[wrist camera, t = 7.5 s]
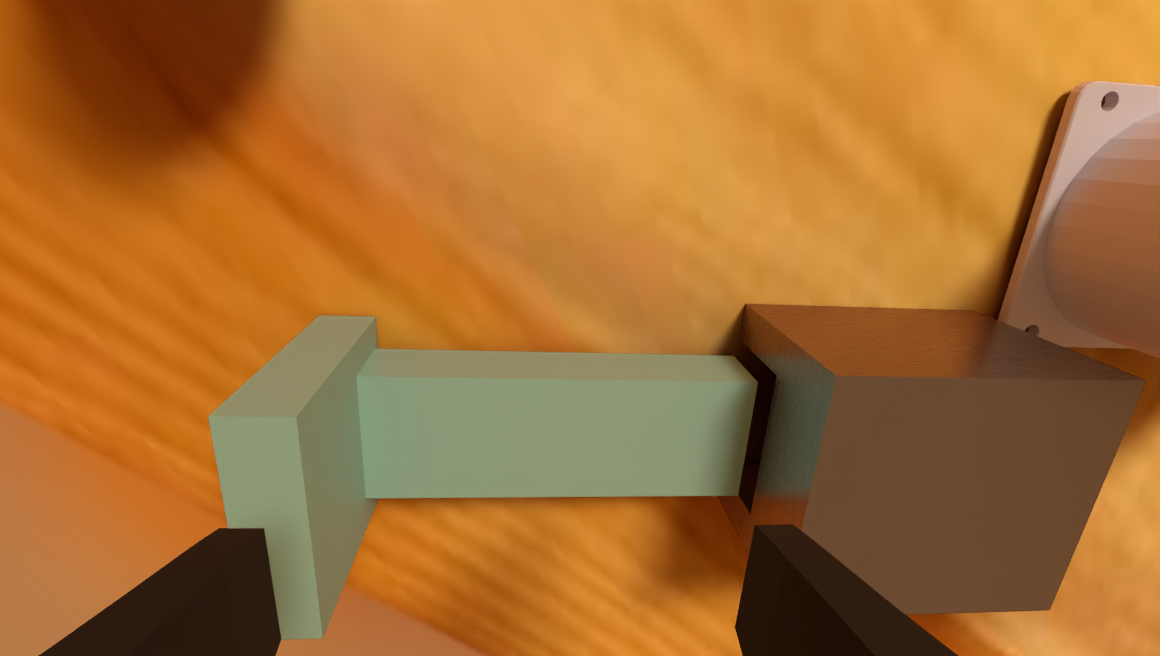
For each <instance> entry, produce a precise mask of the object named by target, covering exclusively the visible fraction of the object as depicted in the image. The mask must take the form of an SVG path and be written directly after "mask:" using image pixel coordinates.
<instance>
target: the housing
mask: <svg viewBox="0 0 1160 656" xmlns="http://www.w3.org/2000/svg"><path fill="white" fill-rule="evenodd" d="M740 340H741V341H742V342H743V343H744V344H745V345H746V346H747V347H748V348H749V349H750V350H751V351H752V352H753V353H754V354H755V355H756V356H757V357H758V358H759V359H760V360H761V361H762V362H763V363H764V364H765V365H766V366H767V367H769V368H770V369H771V370H772V371H773V372H774V373H775V374H776V375H777V376H776V381H775V386H774V392H773V397H772V402H771V408H770V413H769V418H768V424H767V429H766V434H765V440H764V445H763V450H762V456H761V461H760V463H744V465H743V470H742V476H741V482H740V487H739V493H738V496H718V498H719V500H720V502H721V504H722V506H723V507H724V509H725V511H726V513H727V515H728V517H729V519H730V521H731V523H732V525H733V527H734V528H735V530H736V532H737V534H738V536H739V538H740V540H741V542H742V544H743V546H744V548H745V550H746V551H747V553H748V555H749V552H750V547H751V541H752V536H753V531H754V526H755V525H781V524H793V525H794V526H796V527H797V528H798V529H800V530H801V531H802V532H804V533H805V534H806V535H808V536H809V537H810V538H811V539H813V540H814V541H815V542H816V543H818V544H819V545H820V546H821V547H823V548H824V549H825V550H826V551H828V552H829V553H830V554H831V555H833V556H834V557H835V558H836V559H837V560H839V561H840V562H841V563H842V564H844V565H845V566H846V567H847V568H848V569H850V570H851V571H852V572H853V573H855V574H856V575H857V576H858V577H859V578H861V579H862V580H863V581H864V582H866V583H867V584H868V585H869V586H870V587H872V588H873V589H874V590H875V591H877V592H878V593H879V594H880V595H882V596H883V597H884V598H885V599H886V600H888V601H889V602H890V603H891V604H893V605H894V606H895V607H896V608H898V609H899V610H900V611H901V612H903V613H904V614H905V615H912V614H944V613H976V612H1008V611H1040V610H1050V608H1051V606H1052V603H1053V601H1054V599H1055V596H1056V594H1057V592H1058V589H1059V587H1060V585H1061V582H1062V580H1063V577H1064V575H1065V573H1066V570H1067V568H1068V566H1069V563H1070V561H1071V559H1072V556H1073V554H1074V551H1075V549H1076V547H1077V544H1078V542H1079V540H1080V537H1081V535H1082V533H1083V530H1084V528H1085V525H1086V523H1087V521H1088V518H1089V516H1090V514H1091V511H1092V509H1093V506H1094V504H1095V502H1096V499H1097V497H1098V495H1099V492H1100V490H1101V488H1102V485H1103V483H1104V480H1105V478H1106V476H1107V473H1108V471H1109V469H1110V466H1111V464H1112V462H1113V459H1114V457H1115V454H1116V452H1117V450H1118V447H1119V445H1120V443H1121V440H1122V438H1123V436H1124V433H1125V431H1126V428H1127V426H1128V424H1129V421H1130V419H1131V417H1132V414H1133V412H1134V410H1135V407H1136V405H1137V402H1138V400H1139V398H1140V395H1141V393H1142V391H1143V388H1144V386H1145V383H1146V380H1143V379H1141V378H1139V377H1136V376H1134V375H1131V374H1129V373H1126V372H1124V371H1121V370H1119V369H1116V368H1114V367H1111V366H1109V365H1106V364H1104V363H1102V362H1099V361H1097V360H1094V359H1092V358H1089V357H1087V356H1084V355H1082V354H1079V353H1077V352H1074V351H1072V350H1070V349H1067V348H1065V347H1062V346H1060V345H1057V344H1055V343H1052V342H1050V341H1047V340H1045V339H1042V338H1040V337H1037V336H1035V335H1033V334H1030V333H1028V332H1025V331H1023V330H1020V329H1018V328H1015V327H1013V326H1010V325H1008V324H1005V323H1003V322H1001V321H998V320H996V319H993V318H991V317H988V316H986V315H983V314H981V313H978V312H976V311H965V310H931V309H897V308H864V307H830V306H796V305H763V304H746V307H745V313H744V319H743V325H742V332H741V338H740Z"/></svg>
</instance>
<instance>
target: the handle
mask: <svg viewBox="0 0 1160 656" xmlns="http://www.w3.org/2000/svg"><path fill="white" fill-rule="evenodd" d="M757 385H758V382H757V381H756V380H755V379H754V377H753V376H752V375H751V374H750V373H749V372H748V371H747V370H746V369H745V368H744V367H743V365H742V364H741V363H740V362H739V361H738V360H737V359H736V358H735V357H734V356H722V355H671V354H620V353H569V352H518V351H467V350H416V349H378V341H377V325H376V317H368V316H329V315H319V316H318V317H317V318H316V319H315V320H314V321H313V322H312V323H311V324H309V325H308V326H307V327H306V328H305V329H304V330H303V331H302V332H301V333H300V334H298V335H297V336H296V337H295V338H294V339H293V340H292V341H291V342H290V343H289V344H287V345H286V346H285V347H284V348H283V349H282V350H281V351H280V352H279V353H278V354H276V355H275V356H274V357H273V358H272V359H271V360H270V361H269V362H268V363H267V364H265V365H264V366H263V367H262V368H261V369H260V370H259V371H258V372H257V373H256V374H254V375H253V376H252V377H251V378H250V379H249V380H248V381H247V382H246V383H244V384H243V385H242V386H241V387H240V388H239V389H238V390H237V391H236V392H235V393H233V394H232V395H231V396H230V397H229V398H228V399H227V400H226V401H225V402H224V403H222V404H221V405H220V406H219V407H218V408H217V409H216V410H215V411H214V412H213V413H211V414H210V415H209V416H208V418H209V424H210V429H211V435H212V441H213V446H214V452H215V458H216V463H217V469H218V474H219V480H220V486H221V491H222V497H223V503H224V508H225V514H226V520H227V525H228V528H264V531H265V537H266V544H267V550H268V556H269V563H270V569H271V576H272V582H273V588H274V595H275V601H276V608H277V614H278V621H279V627H280V633H281V640H285V639H286V640H287V639H319V638H323V637H324V634H325V632H326V629H327V627H328V624H329V622H330V619H331V616H332V614H333V611H334V609H335V606H336V604H337V601H338V599H339V596H340V593H341V591H342V589H343V586H344V584H345V581H346V579H347V576H348V574H349V571H350V569H351V566H352V564H353V561H354V559H355V556H356V554H357V551H358V549H359V546H360V544H361V541H362V539H363V536H364V533H365V531H366V528H367V526H368V523H369V521H370V518H371V516H372V513H373V511H374V508H375V506H376V503H377V501H378V498H490V497H627V496H738V493H739V487H740V482H741V476H742V470H743V465H744V459H745V453H746V448H747V442H748V436H749V431H750V425H751V419H752V414H753V408H754V402H755V397H756V391H757Z"/></svg>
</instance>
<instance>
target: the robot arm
mask: <svg viewBox="0 0 1160 656" xmlns="http://www.w3.org/2000/svg"><path fill="white" fill-rule="evenodd" d="M1104 96H1105V97H1106V98H1105V103H1104V105H1103V107H1101V101H1102V99H1103V97H1104ZM998 321H1001V322H1003V323H1005V324H1008V325H1010V326H1013V327H1015V328H1018V329H1020V330H1023V331H1025V330H1026V328H1027V327H1029V329H1028V331H1027V332H1028V333H1030V334H1033V335H1035V336H1037V337H1040V338H1042V339H1045V340H1047V341H1050V342H1052V343H1055V344H1057V345H1060V346H1062V347H1082V348H1126V349H1134V350H1137V351H1140V352H1143V353H1145V354H1148V355H1151V356H1154V357H1156V358H1159V359H1160V86H1155V85H1142V84H1130V83H1117V82H1104V81H1094V82H1085V83H1081V84H1080V85H1078V86H1076V87H1075V88H1074V89H1073V90H1072V92H1071V93H1070V95H1069V97H1068V99H1067V102H1066V105H1065V108H1064V111H1063V114H1062V118H1061V121H1060V124H1059V127H1058V130H1057V133H1056V137H1055V140H1054V143H1053V146H1052V149H1051V152H1050V156H1049V159H1048V162H1047V165H1046V168H1045V171H1044V175H1043V178H1042V181H1041V184H1040V187H1039V190H1038V194H1037V197H1036V200H1035V203H1034V206H1033V209H1032V213H1031V216H1030V219H1029V222H1028V225H1027V228H1026V232H1025V235H1024V238H1023V241H1022V244H1021V247H1020V251H1019V254H1018V257H1017V260H1016V263H1015V266H1014V270H1013V273H1012V276H1011V279H1010V282H1009V285H1008V289H1007V292H1006V295H1005V298H1004V301H1003V304H1002V308H1001V311H1000V314H999V317H998ZM735 629H736V632H737V636H738V640H739V643H740V647H741V651H742V654H743V656H958V655H957V654H955V653H954V652H953V651H951V650H950V649H949V648H947V647H946V646H945V645H943V644H942V643H941V642H939V641H938V640H937V639H936V638H934V637H933V636H932V635H931V634H929V633H928V632H927V631H925V630H924V629H923V628H922V627H920V626H919V625H918V624H916V623H915V622H914V621H913V620H911V619H910V618H909V617H908V616H906V615H905V614H904V613H903V612H901V611H900V610H899V609H898V608H896V607H895V606H894V605H893V604H891V603H890V602H889V601H888V600H886V599H885V598H884V597H883V596H882V595H880V594H879V593H878V592H877V591H875V590H874V589H873V588H872V587H870V586H869V585H868V584H867V583H866V582H864V581H863V580H862V579H861V578H859V577H858V576H857V575H856V574H855V573H853V572H852V571H851V570H850V569H848V568H847V567H846V566H845V565H844V564H842V563H841V562H840V561H839V560H837V559H836V558H835V557H834V556H833V555H831V554H830V553H829V552H828V551H826V550H825V549H824V548H823V547H821V546H820V545H819V544H818V543H816V542H815V541H814V540H813V539H811V538H810V537H809V536H808V535H806V534H805V533H804V532H802V531H801V530H800V529H798V528H797V527H796V526H794V525H793V524H781V525H755V526H754V531H753V536H752V541H751V547H750V552H749V557H748V562H747V568H746V573H745V578H744V583H743V589H742V594H741V599H740V604H739V610H738V615H737V620H736V625H735ZM280 641H281V633H280V627H279V621H278V614H277V608H276V601H275V595H274V588H273V582H272V576H271V569H270V563H269V556H268V550H267V544H266V537H265V531H264V528H219V529H217V530H216V531H214V532H213V533H212V534H210V535H208V536H207V537H205V538H204V539H202V540H201V541H199V542H198V543H197V544H195V545H194V546H192V547H191V548H189V549H188V550H187V551H185V552H184V553H182V554H181V555H179V556H178V557H177V558H175V559H174V560H173V561H171V562H170V563H168V564H167V565H166V566H164V567H163V568H161V569H160V570H159V571H157V572H156V573H154V574H153V575H152V576H150V577H149V578H148V579H146V580H145V581H143V582H142V583H141V584H139V585H138V586H136V587H135V588H134V589H132V590H131V591H129V592H128V593H127V594H126V595H124V596H123V597H121V598H120V599H118V600H117V601H116V602H114V603H113V604H111V605H110V606H108V607H107V608H106V609H104V610H103V611H101V612H100V613H99V614H97V615H96V616H94V617H93V618H92V619H90V620H89V621H87V622H86V623H85V624H83V625H82V626H80V627H79V628H77V629H76V630H75V631H73V632H72V633H71V634H69V635H68V636H66V637H65V638H63V639H62V640H61V641H59V642H58V643H56V644H55V645H53V646H52V647H51V648H49V649H48V650H46V651H45V652H43V653H42V654H41V655H39V656H275V655H276V652H277V649H278V647H279V644H280Z"/></svg>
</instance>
